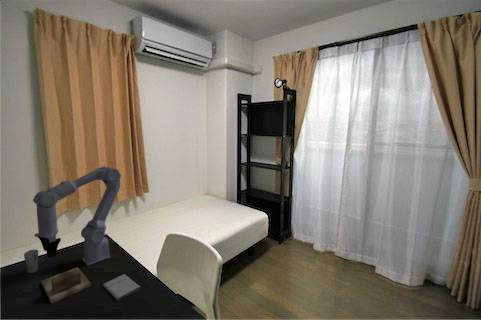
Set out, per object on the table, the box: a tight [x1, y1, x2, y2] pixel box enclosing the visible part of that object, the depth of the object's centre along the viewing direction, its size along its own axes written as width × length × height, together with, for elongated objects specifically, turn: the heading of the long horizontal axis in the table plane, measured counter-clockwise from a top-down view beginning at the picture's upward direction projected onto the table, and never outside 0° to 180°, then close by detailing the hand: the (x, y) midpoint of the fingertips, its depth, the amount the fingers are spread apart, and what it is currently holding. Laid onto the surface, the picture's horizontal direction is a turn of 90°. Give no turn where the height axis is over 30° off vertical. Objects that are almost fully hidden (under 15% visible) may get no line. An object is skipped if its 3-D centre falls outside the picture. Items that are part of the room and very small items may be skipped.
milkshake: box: [23, 249, 39, 274], centre depth 94 cm, size 4×5×10 cm
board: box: [41, 266, 92, 304], centre depth 87 cm, size 12×16×1 cm
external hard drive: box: [103, 273, 141, 301], centre depth 86 cm, size 2×8×12 cm
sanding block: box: [51, 269, 81, 294], centre depth 84 cm, size 8×4×4 cm, turn 141°
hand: (49, 253), depth 90 cm, fingers open, 7 cm apart
